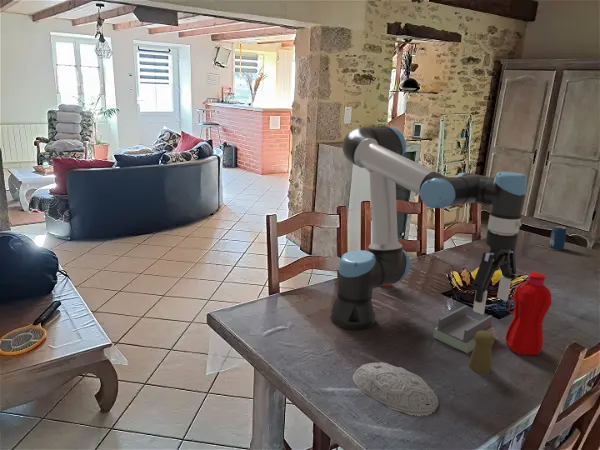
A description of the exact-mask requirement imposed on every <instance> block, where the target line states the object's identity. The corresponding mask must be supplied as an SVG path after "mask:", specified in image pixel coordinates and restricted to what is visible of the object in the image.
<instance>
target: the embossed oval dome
mask: <svg viewBox="0 0 600 450" xmlns="http://www.w3.org/2000/svg"><path fill="white" fill-rule="evenodd" d="M352 381H353V383H354V384H356V385H357V386H356V385H355V386H356V387H357V388H358V389H359V390H360V389H361V390H362V391H361V390H360V391H361V392H363V393H364V394H365V393H366V394H365V395H367V396H369V397H370V398H372V399H374V400H375V401H378V402H379V403H381V404H383V405H384V406H386V407H387V408H389V409H391V410H394V411H398V412H402V413H405V414H407V415H410V416H413V415H415V417H423V415H425V416H430V415H432V414H433V413H434V412H435V411H436V410H437V409H438V406H439V398H438V396H437V395H436V394H435V392H434V391H433V389H432V388H431V387H430V386H429V385H428V383H427V382H425V380H423V378H422V377H420V376H419V375H417V374H415V373H413V372H411V371H408V370H407V369H405V368H403V367H401V366H400V367H399V366H398V367H397V366H395V365H393V364H389V363H388V362H369V363H366V364H362V365H360V367H358V368H357V369H356V371H355V372H354V374H352ZM432 412H433V413H432ZM429 414H430V415H429ZM416 415H417V416H416ZM421 415H422V416H421Z"/></svg>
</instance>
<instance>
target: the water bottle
mask: <svg viewBox="0 0 600 450" xmlns="http://www.w3.org/2000/svg"><path fill="white" fill-rule="evenodd" d="M545 279H546V280H547V278H546V276H545V275H544V274H542V273H540V272H537V271H532V272H529V273H528V276H527V279H526V281H523V282H520V283H518V284H517V286H516V288H515V290H514V293H513V296H512V298H511V300H510V302H509V305H508V312H509V313H510V314H513V313H514V315H513V318H512V320H511V322H510V324H509V326H508V328H507V332H506V334H505V342H506V345H507V346H508V347H509V349H510V350H511V351H512V352H513V353H515V354H518V355H528V356H531V355H532V356H537V355H539V354H540V353H541V352H542V350H543V345H544V333H543V332H544V331H543V324H544V323H543V322H544V319H545V316H546V314H547V313H548V311H549V310H550V307H551V305H552V293H551V291H550V289H549V288H548V287H547V286H546V285H545V284H544V283H545ZM512 302H514V308H513V310H512V311H510V307H511V304H512Z"/></svg>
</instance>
